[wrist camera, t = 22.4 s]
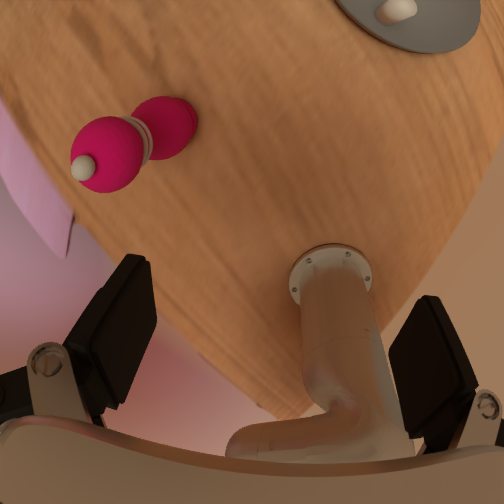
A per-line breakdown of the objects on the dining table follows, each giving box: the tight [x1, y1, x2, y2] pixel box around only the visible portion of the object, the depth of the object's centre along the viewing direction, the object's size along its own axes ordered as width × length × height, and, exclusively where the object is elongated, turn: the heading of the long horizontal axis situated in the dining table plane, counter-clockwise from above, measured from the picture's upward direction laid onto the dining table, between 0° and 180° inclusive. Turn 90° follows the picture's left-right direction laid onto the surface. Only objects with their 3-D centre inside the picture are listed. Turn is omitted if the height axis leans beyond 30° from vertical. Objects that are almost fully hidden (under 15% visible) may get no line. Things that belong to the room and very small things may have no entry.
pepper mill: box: [70, 96, 197, 193], centre depth 25 cm, size 7×7×20 cm
